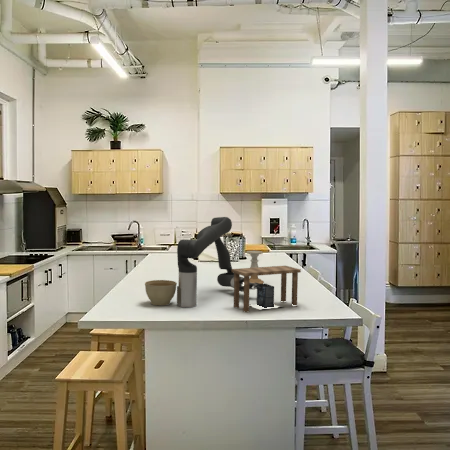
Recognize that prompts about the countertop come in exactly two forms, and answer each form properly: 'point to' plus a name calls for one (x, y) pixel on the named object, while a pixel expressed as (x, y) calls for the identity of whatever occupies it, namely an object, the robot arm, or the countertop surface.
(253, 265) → the candle holder
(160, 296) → the planter bowl
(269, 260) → the countertop surface
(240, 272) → the low shelf
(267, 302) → the box
